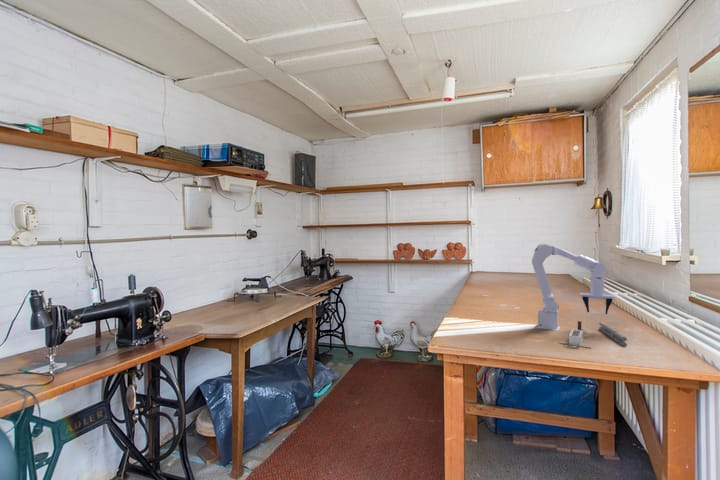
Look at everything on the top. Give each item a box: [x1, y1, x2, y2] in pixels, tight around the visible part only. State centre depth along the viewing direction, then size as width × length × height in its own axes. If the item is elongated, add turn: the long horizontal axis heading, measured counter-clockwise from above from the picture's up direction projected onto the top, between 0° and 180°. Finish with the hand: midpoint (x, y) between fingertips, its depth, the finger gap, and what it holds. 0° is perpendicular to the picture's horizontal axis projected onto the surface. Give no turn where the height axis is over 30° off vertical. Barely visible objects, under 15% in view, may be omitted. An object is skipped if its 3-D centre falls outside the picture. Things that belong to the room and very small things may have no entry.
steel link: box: [568, 329, 584, 347], centre depth 164 cm, size 4×12×4 cm, turn 144°
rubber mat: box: [558, 342, 592, 350], centre depth 164 cm, size 12×12×1 cm
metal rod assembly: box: [598, 321, 628, 347], centre depth 170 cm, size 26×3×5 cm, turn 166°
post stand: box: [567, 321, 591, 340], centre depth 176 cm, size 8×16×6 cm, turn 144°
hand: (597, 312), depth 180 cm, fingers open, 7 cm apart
